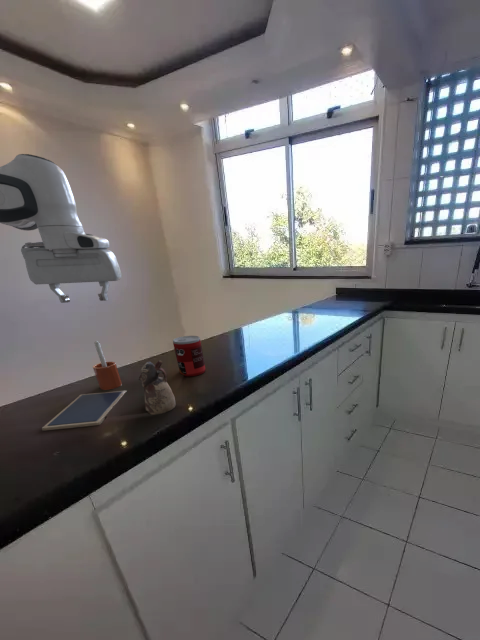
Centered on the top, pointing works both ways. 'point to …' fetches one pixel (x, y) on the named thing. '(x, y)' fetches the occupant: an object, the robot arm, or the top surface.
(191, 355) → the canned food
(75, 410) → the tablet
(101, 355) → the stylus
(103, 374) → the pen cup
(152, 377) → the figurine
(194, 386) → the top surface
